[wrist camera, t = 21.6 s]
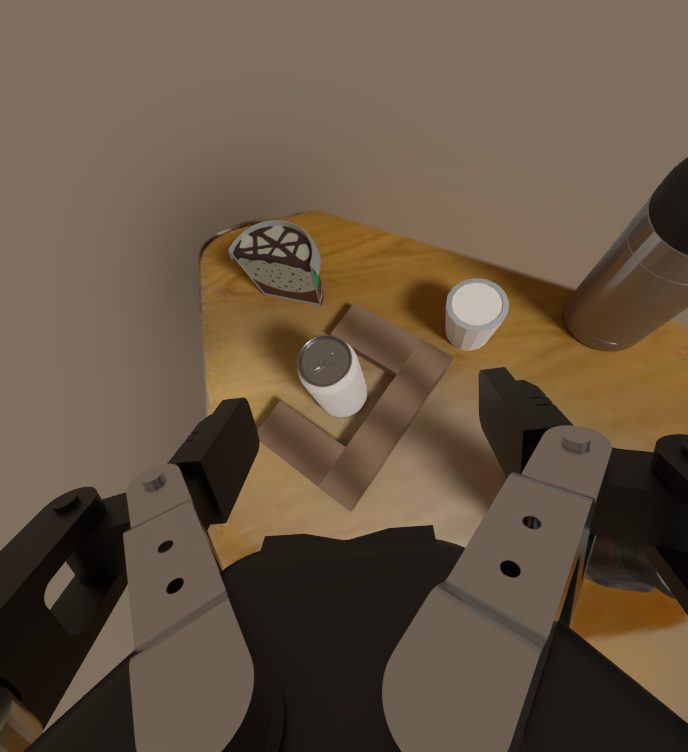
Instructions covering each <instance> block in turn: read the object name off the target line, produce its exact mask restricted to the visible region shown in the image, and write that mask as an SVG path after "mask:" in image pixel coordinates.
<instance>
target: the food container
mask: <svg viewBox="0 0 688 752" xmlns="http://www.w3.org/2000/svg"><path fill="white" fill-rule="evenodd" d="M228 251H229V255H230V258H231V260H233V258H234V259H235V260H236V261H237V263H238V264H239V265H240V266H241V267H242V269H243V270H244V271H245V272H246V273H247V275H248V276H249V277H250V278H251V280H252V281H253V282H254V283H255V284H256V286H257V287H258V288H259V289H260V291H261V292H262V293H263V294H264V295H269V296H274V297H279V298H284V299H289V300H294V301H299V302H304V303H309V304H314V305H319V306H321V305H322V301H323V290H322V285H321V281H320V276H319V271H320V265H321V259H320V253H319V250H318V248H317V246H316V244H315V242H314V241H313V240H312V238H311V237H310V236H309V234H308V233H307V232H306V231H304V230H303V229H302V228H301V227H299V226H297V225H296V224H293V223H291V222H287V221H281V220H272V221H266V222H262V223H259V224H256V225H254V226H252V227H250V228H248V229H247V230H245V231H244V232H243V233H241V234H240V235H239V236H238V237H237V238H236V239H235V240H234V242H233V243H232V244H231V246H230V247H229V249H228Z"/></svg>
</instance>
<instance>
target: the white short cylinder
mask: <svg viewBox="0 0 688 752" xmlns="http://www.w3.org/2000/svg"><path fill="white" fill-rule="evenodd" d="M508 308H509V301H508V298H507V295H506V293H505V292H504V291H503V290H502V289H501V287H500V286H499V285H498V284H495V283H493V282H491V281H489V280H487V279H478V278H473V279H469V280H464V281H462V282H460V283H459V284H457V285H456V286H454V287H453V288H452V290H451V291H450V293H449V294H448V296H447V302H446V322H445V332H446V336H447V339H448V340H449V342H450V343H451V344H452V345H453V346H455V347H457V348H458V349H461V350H467V351H470V350H475V349H478V348H480V347H482V346H483V345H485V343H486V342H487V341H488V340H489V338H490V337H491V336H492V334H493V333H494V332H495V331H496V329H497V328H498V327H499V325H500V324H501V323H502V321H503V320H504V318H505V317H506V315H507V314H508Z"/></svg>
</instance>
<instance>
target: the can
mask: <svg viewBox="0 0 688 752" xmlns="http://www.w3.org/2000/svg"><path fill="white" fill-rule="evenodd" d="M297 367H298V376H299V378H300V381H301V382H302V384H303V385H304V387H305V388H306V389H307V391H308V392H309V393H310V394H311V395H312V396H313V398H314V399H315V400H316V401H317V402H318V404H319V405H320V406H321V407H322V408H323V409H324V410H325V411H326V412H327V413H329V414H330V415H333V416H336V417H348V416H351V415H353V414H355V413H356V412H358V411H359V410H360V409H361V408H362V406H363V405H364V403H365V401H366V398H367V387H366V383H365V380H364V377H363V373H362V370H361V367H360V364H359V361H358V358H357V356H356V353H355V352H354V350H353V349H352V347H351V346H350V345H349V344H348V343H346V342H345V341H343V340H342V339H341V338H339V337H337V336H333V335H320V336H317V337H314V338H312V339H311V340H309V341H308V342H307V343H306V344H305V345H304V346H303V347H302V348H301V350H300V352H299V355H298V358H297Z"/></svg>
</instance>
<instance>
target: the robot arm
mask: <svg viewBox="0 0 688 752" xmlns="http://www.w3.org/2000/svg"><path fill="white" fill-rule="evenodd" d="M687 308H688V158H686V159H685V160H683V161H682V162H681V163H679V164H678V165H677V166H676V167H675V168H674V169H673V170H672V171H671V172H670V173H669V174H668V175H667V176H666V178H665V179H664V180H663V182H662V183H661V184H660V185H659V186H658V188H657V189H656V190H655V192H654V193H653V194H652V196H651V197H650V198H649V199H648V201H647V202H646V204H644V206H643V207H642V208H641V210H640V211H639V212H638V213H637V214H636V216H635V217H634V218H633V219H632V221H631V222H630V224H629V225H628V226H627V227H626V228H625V230H624V231H623V232H622V233H621V235H620V236H619V237H618V238H617V240H616V241H615V242H614V243H613V245H612V246H611V247H610V249H609V250H608V251H607V252H606V253H605V255H604V256H603V257H602V258H601V260H600V261H599V262H598V263H597V265H596V266H595V267H594V268H593V270H592V271H591V272H590V273H589V275H588V276H587V277H586V278H585V280H583V282H582V283H581V284H580V285H579V287H578V288H577V289H576V291H575V292H574V293H573V294H572V296H571V297H570V298H569V300H568V301H567V303H566V305H565V309H564V319H565V324H566V326H567V328H568V330H569V331H570V332H571V334H572V335H573V336H574V337H575V338H576V339H577V340H579V341H580V342H581V343H583V344H585V345H586V346H588V347H591V348H594V349H597V350H602V351H619V350H624V349H627V348H629V347H631V346H633V345H634V344H636V343H637V342H639V341H640V340H642V339H643V338H645V337H646V336H648V335H649V334H651V333H652V332H654V331H655V330H657V329H658V328H659V327H661V326H662V325H664V324H665V323H667V322H668V321H670V320H671V319H672V318H674V317H675V316H677V315H678V314H680V313H681V312H682V311H684V310H685V309H687ZM479 418H480V423H481V427H482V430H483V432H484V434H485V436H486V438H487V440H488V442H489V444H490V446H491V448H492V450H493V452H494V454H495V456H496V458H497V460H498V462H499V464H500V466H501V468H502V470H503V472H504V474H505V476H506V478H507V480H506V481H505V483H504V485H503V486H502V488H501V490H500V491H499V493H498V495H497V496H496V498H495V500H494V501H493V503H492V505H491V506H490V508H489V510H488V511H487V513H486V515H485V516H484V518H483V520H482V521H481V523H480V525H479V526H478V528H477V530H476V531H475V533H474V535H473V536H472V538H471V540H470V541H469V543H468V545H467V546H466V548H465V547H462V546H459V545H457V544H454V543H450V542H447V541H443V540H437V539H435V534H434V529H433V525H428V526H413V527H399V528H388V529H385V530H381V531H378V532H374V533H371V534H367V535H364V536H360V537H357V538H354V539H350V540H338V539H332V538H327V537H321V536H315V535H309V534H294V535H279V536H265V538H264V541H263V545H262V548H261V551H258V552H255V553H253V554H250V555H248V556H245V557H244V558H242V559H240V560H238V561H236V562H234V563H233V564H231V565H230V566H228V567H227V568H225V569H224V570H223V568H222V565H221V563H220V560H219V558H218V555H217V553H216V551H215V548H214V546H213V543H212V541H211V538H210V536H209V534H208V531H207V530H208V528H209V526H210V524H222V523H226V522H227V520H228V518H229V516H230V513H231V511H232V509H233V507H234V504H235V502H236V500H237V498H238V496H239V493H240V491H241V489H242V487H243V484H244V482H245V480H246V478H247V475H248V473H249V471H250V469H251V466H252V464H253V462H254V460H255V457H256V455H257V453H258V450H259V435H258V432H257V428H256V425H255V422H254V419H253V416H252V412H251V409H250V406H249V403H248V401H247V400H246V398H236V399H227V400H223V401H222V402H221V403H220V404H219V406H218V407H217V408H216V410H215V411H214V412H213V414H212V415H209V416H208V417H207V418H205V419H204V420H203V421H201V422H200V423H199V424H198V425H197V426H196V427H195V429H194V430H193V431H192V433H191V435H189V436H188V438H187V439H186V442H184V443H183V444H182V445H181V447H180V448H179V449H178V451H177V452H176V453H175V454H174V456H173V457H172V458H171V460H170V461H169V462H168V463H167V464H163V465H159V466H155V467H153V468H150V469H148V470H146V471H144V472H143V473H141V474H140V475H138V476H137V477H136V478H135V479H134V480H133V481H132V482H131V483H130V484H129V486H128V488H127V490H126V493H122V494H119V495H116V496H112V497H109V498H106V499H101V497H100V496H99V494H98V492H97V491H96V489H95V488H93V487H82V488H78V489H75V490H72V491H70V492H67V493H65V494H63V495H61V496H60V497H58V498H56V499H54V500H53V501H52V502H50V503H49V504H48V505H46V506H45V507H44V508H43V509H42V510H41V511H40V512H39V513H38V514H37V515H36V516H35V517H34V518H33V519H32V520H31V521H30V522H29V523H28V524H27V525H26V526H25V527H24V528H23V529H22V530H21V531H20V532H19V533H18V534H17V535H16V536H15V537H14V538H13V539H12V540H11V541H10V542H9V543H8V544H7V545H6V546H5V547H4V548H3V549H2V550H1V551H0V752H688V723H687V722H685V721H684V720H683V719H682V718H680V717H679V716H678V715H677V714H675V713H674V712H673V711H671V710H670V709H669V708H668V707H667V706H666V705H664V704H663V703H662V702H661V701H659V700H658V699H657V698H656V697H655V696H653V695H652V694H651V693H650V692H648V691H647V690H646V689H645V688H643V687H642V686H641V685H640V684H638V683H637V682H636V681H635V680H634V679H632V678H631V677H630V676H629V675H627V674H626V673H625V672H624V671H622V670H621V669H620V668H619V667H617V666H616V665H615V664H614V663H613V662H611V661H610V660H609V659H608V658H606V657H605V656H604V655H603V654H601V653H600V652H599V651H598V650H596V649H595V648H594V647H593V646H592V645H590V644H589V643H588V642H587V641H586V640H584V639H583V638H582V637H581V636H579V635H578V634H577V633H576V632H574V631H573V630H572V626H573V622H574V618H575V613H576V608H577V604H578V600H579V596H580V592H581V588H582V585H583V581H584V578H585V574H586V571H587V567H588V564H589V560H590V557H591V553H592V550H593V546H594V543H595V539H596V536H600V537H605V538H611V539H616V540H622V541H627V542H632V543H637V544H638V546H639V547H640V548H641V550H642V551H643V553H644V554H645V556H646V557H647V558H648V560H649V561H650V563H651V564H652V565H653V567H654V568H655V570H656V571H657V573H658V574H659V575H660V577H661V578H662V580H663V581H664V582H665V584H666V585H667V587H668V588H669V589H670V591H671V592H672V594H673V595H674V597H675V598H676V599H677V601H678V602H679V604H680V605H681V606H682V608H683V609H684V611H685V612H686V614H687V615H688V435H684V434H675V435H668V436H664V437H662V438H660V439H659V440H658V441H657V442H656V445H655V449H654V452H645V451H634V450H624V449H617V448H612V446H611V443H610V441H609V440H608V439H607V438H606V437H604V436H603V435H602V434H600V433H598V432H596V431H594V430H591V429H588V428H584V427H579V426H574V425H573V424H572V423H571V422H570V421H569V420H568V419H567V418H566V417H565V416H564V415H563V414H562V412H561V411H560V410H559V409H558V408H557V407H556V406H555V405H553V404H552V402H551V401H550V399H549V398H548V397H546V395H545V394H544V393H543V392H542V391H541V390H540V389H539V387H537V386H535V385H533V384H531V383H529V382H527V381H525V380H519V381H516V380H515V379H514V378H513V376H512V375H511V374H510V373H509V372H508V370H507V369H506V368H504V367H502V368H494V369H485V370H480V372H479ZM65 561H66V562H67V564H68V565H69V567H70V568H71V569H72V571H73V572H74V574H75V576H74V578H73V579H72V580H71V582H70V583H69V585H68V586H67V587H66V589H65V590H64V591H63V593H62V594H61V595H60V597H59V598H58V600H57V601H56V602H55V604H54V605H53V606H52V608H51V609H50V610H49V609H48V608H47V607H46V605H45V602H44V594H45V590H46V587H47V585H48V583H49V582H50V580H51V579H52V578H53V576H54V575H55V574H56V573H57V571H58V570H59V569H60V568H61V566H62V565H63V564H64V562H65ZM127 584H128V588H129V598H130V608H131V618H132V628H133V638H134V651H133V652H132V653H131V654H130V655H128V656H127V657H126V658H125V659H124V660H123V661H122V662H121V663H120V664H119V665H117V666H116V667H115V668H114V669H113V670H112V671H111V672H110V673H109V674H108V675H106V676H105V677H104V678H103V679H102V680H101V681H100V682H99V683H98V684H97V685H95V686H94V687H93V688H92V689H91V690H90V691H89V692H88V693H87V694H86V695H84V696H83V697H82V698H81V699H80V700H79V701H78V702H77V703H76V704H74V705H73V706H72V707H71V708H70V709H69V710H68V711H67V712H66V713H65V714H64V715H62V716H61V717H60V718H59V719H58V720H57V721H56V722H55V723H54V724H52V725H51V726H50V727H49V728H48V729H47V730H46V731H45V732H44V733H43V730H44V728H45V727H46V725H47V723H48V721H49V719H50V718H51V716H52V714H53V712H54V711H55V709H56V707H57V705H58V704H59V702H60V700H61V699H62V697H63V695H64V694H65V692H66V690H67V688H68V687H69V685H70V683H71V681H72V680H73V678H74V676H75V674H76V672H77V671H78V669H79V667H80V666H81V664H82V662H83V661H84V659H85V657H86V655H87V654H88V652H89V650H90V648H91V647H92V645H93V643H94V641H95V640H96V638H97V636H98V635H99V633H100V631H101V629H102V628H103V626H104V624H105V622H106V621H107V619H108V617H109V615H110V614H111V612H112V610H113V609H114V607H115V605H116V603H117V602H118V600H119V598H120V597H121V595H122V593H123V591H124V590H125V588H126V586H127Z"/></svg>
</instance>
